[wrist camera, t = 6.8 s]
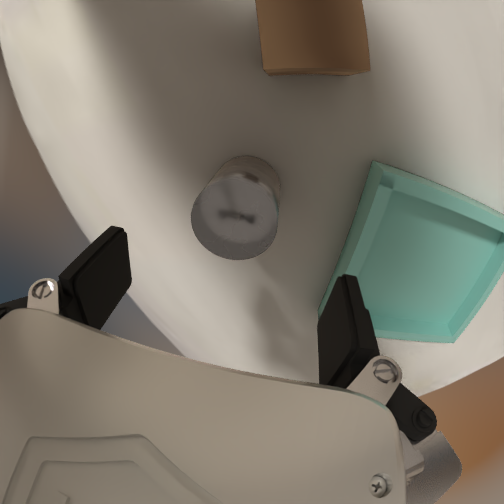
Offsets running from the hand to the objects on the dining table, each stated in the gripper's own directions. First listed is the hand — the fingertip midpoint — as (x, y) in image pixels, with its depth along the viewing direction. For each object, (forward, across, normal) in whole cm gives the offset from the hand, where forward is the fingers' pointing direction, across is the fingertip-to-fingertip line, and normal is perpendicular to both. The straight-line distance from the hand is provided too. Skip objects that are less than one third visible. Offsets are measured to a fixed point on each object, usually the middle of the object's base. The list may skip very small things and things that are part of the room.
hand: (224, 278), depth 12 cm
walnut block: (+9, -2, -12) cm, 15 cm away
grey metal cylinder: (+9, 0, -1) cm, 9 cm away
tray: (+10, -16, +2) cm, 18 cm away
